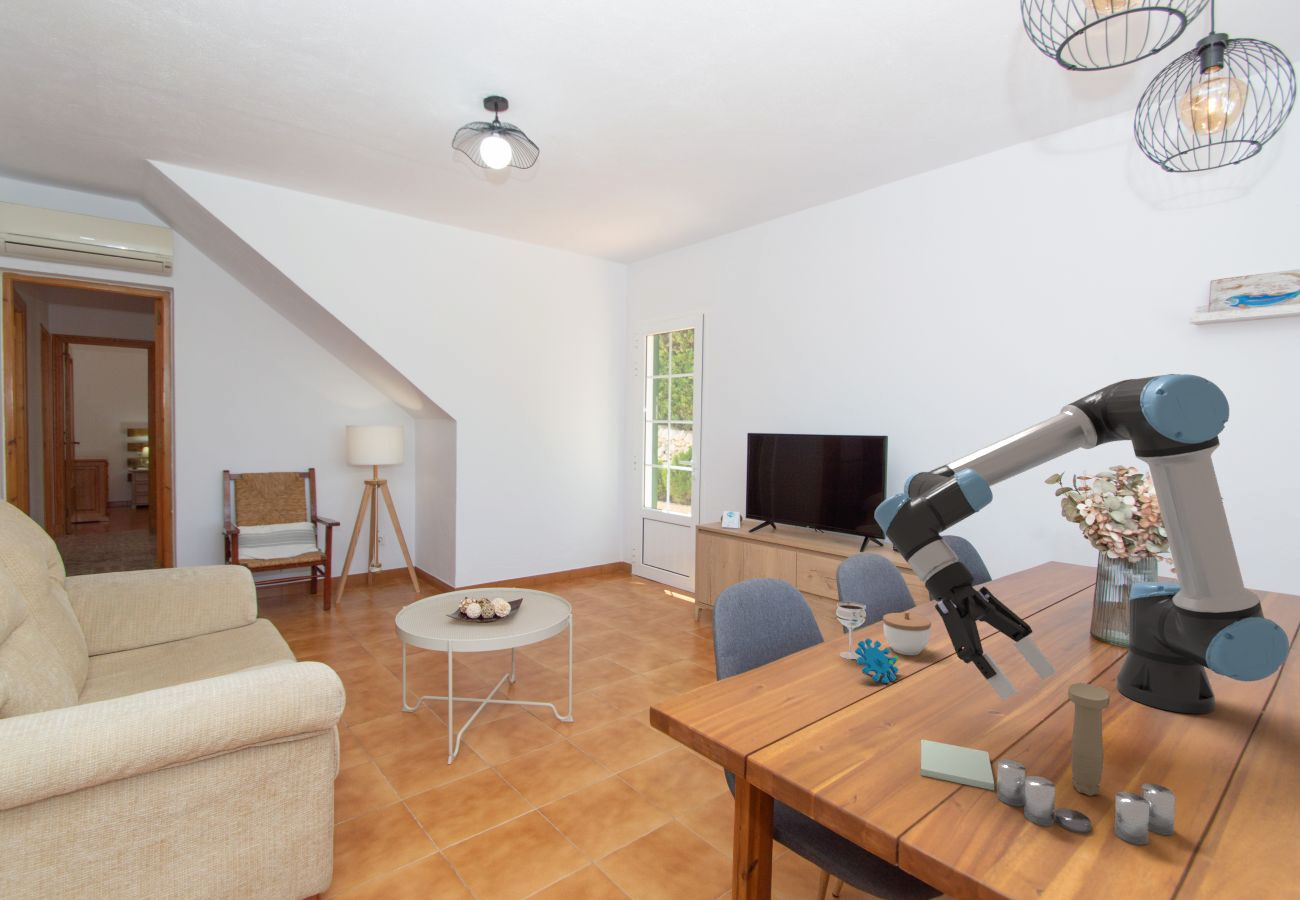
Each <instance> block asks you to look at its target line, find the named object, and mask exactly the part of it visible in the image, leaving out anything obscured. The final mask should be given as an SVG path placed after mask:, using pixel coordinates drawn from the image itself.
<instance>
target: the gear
mask: <svg viewBox="0 0 1300 900" xmlns="http://www.w3.org/2000/svg"><path fill="white" fill-rule="evenodd" d="M872 643H873V646H872V645H871V644H872ZM857 646H858V647H857V648H855V650H854V653H856V654H858V655H860V656H861V657H858V658H857V659H856V662H857V664H858V665H864V667H863V668H862V669H861V672H862V673H863V674H865V675H868V674H870V672H874V674H873V675H872V676H871V679H872V681H874V682H875V683H876V682H879V681H880V676H881V675H882V678H881V683H882V684H884V683H885V684H884V685H887V684H888V683H890V682H893V681H895V680H896V679H897V677H896V674H897V673H898V672H899V668H898V667H897V666H894V665H895V664H896V663H897V662H898V661H899V660H900V658H899V656H898V655H894V656H892V657H889V656H888V655H889V654H890V653H891V650H890V649H889V648H888V647H887V646H886V647H885V648H883V649H879V648H880V647H881V646H882V643H881V642H880V641H878V640H876V641H874V642H873V640H872V639H871V638H865V639H864V640H860V641H858V643H857ZM886 683H887V684H886Z"/></svg>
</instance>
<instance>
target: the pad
mask: <svg viewBox="0 0 1300 900" xmlns="http://www.w3.org/2000/svg"><path fill="white" fill-rule="evenodd" d="M920 741H921V742H920V776H923V777H928V778H932V779H938V780H942V781H946V782H947V781H948V782H952V783H957V784H962V785H965V786H966V785H967V786H970V787H971V786H972V787H976V788H981V789H986V790H990V791H995V781H994V775H993V770H992V765H991V761H990V755H989V752H988V751H986V750H981V749H974V748H970V747H964V746H959V745H953V744H948V743H943V742H937V741H933V740H925V739H921V740H920Z"/></svg>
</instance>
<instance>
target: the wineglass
mask: <svg viewBox="0 0 1300 900" xmlns="http://www.w3.org/2000/svg"><path fill="white" fill-rule="evenodd" d="M836 606H837V609H836V611H835V616H836V618H837V621H838V622H839V623H841V625H843V626H844V627H846V628H847V630H848V634H849V635H848V636H849V637H848V640H849V641H848V642H849V643H848V645H849V646H848V647H849V651H843V652H839V656H840V657H841V658H843V659H845V658H846V660H851V659H856V660H857V658H858V657H861V656H860V655H858V654H856V653H855V652H854V651H852V647H853V645H852V644H853V630H855V628H858V627H860V626H861V625H863V624H864V622H865V621H866V617H867V613H866V611H865V610H866V609H867V606H866V605H865V604H863V603H861V602H856V601H840V602H837V603H836Z"/></svg>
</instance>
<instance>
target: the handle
mask: <svg viewBox="0 0 1300 900" xmlns="http://www.w3.org/2000/svg"><path fill="white" fill-rule="evenodd" d="M1067 691H1068V692H1067V696H1068V699H1069V701H1070V702H1072V703H1073V704H1074V715H1073V726H1072V738H1071V749H1070V750H1071V751H1070V752H1071V754H1070V757H1071V758H1070V761H1071V762H1070V763H1071V774H1072V785H1073V787H1074V788H1075V789H1076V791H1077V792H1078V793H1079V794H1084V795H1086V796H1090V797H1092V796H1097V795H1099V794H1100V791H1101V785H1100V784H1101V782H1102V777H1103V776H1102V775H1103V768H1104V744H1103V743H1104V740H1103V739H1104V738H1103V718H1102V716H1103V710H1105V709H1108V708H1109V706H1110V701H1111V700H1110V698H1111V695H1110V692H1109V691H1108V690H1107V689H1105V688H1104V687H1100V686H1097V685H1094V684H1090V683H1086V682H1085V683H1083V682H1077V683H1073V684H1071V685H1069V686H1068V689H1067Z"/></svg>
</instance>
